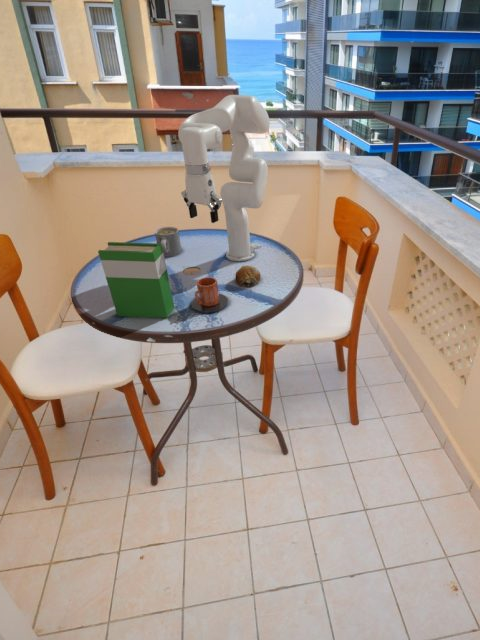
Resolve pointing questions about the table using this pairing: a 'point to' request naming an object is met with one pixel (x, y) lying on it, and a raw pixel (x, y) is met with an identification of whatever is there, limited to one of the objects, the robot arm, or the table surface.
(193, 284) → the table surface
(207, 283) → the wooden mug
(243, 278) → the bread roll
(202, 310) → the saucer
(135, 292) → the hardback book
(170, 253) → the coffee mug
